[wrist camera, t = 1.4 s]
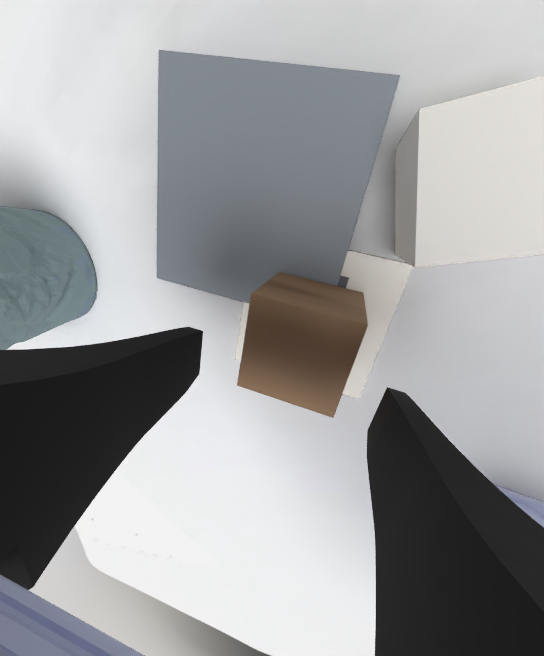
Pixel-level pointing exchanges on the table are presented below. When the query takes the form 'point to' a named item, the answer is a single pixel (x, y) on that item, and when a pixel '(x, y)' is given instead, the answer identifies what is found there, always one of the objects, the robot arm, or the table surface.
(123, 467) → the table surface
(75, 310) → the green cup
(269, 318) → the walnut block
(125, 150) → the table surface
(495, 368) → the table surface
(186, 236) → the slate pad
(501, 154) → the off-white block
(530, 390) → the table surface
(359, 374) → the tile
